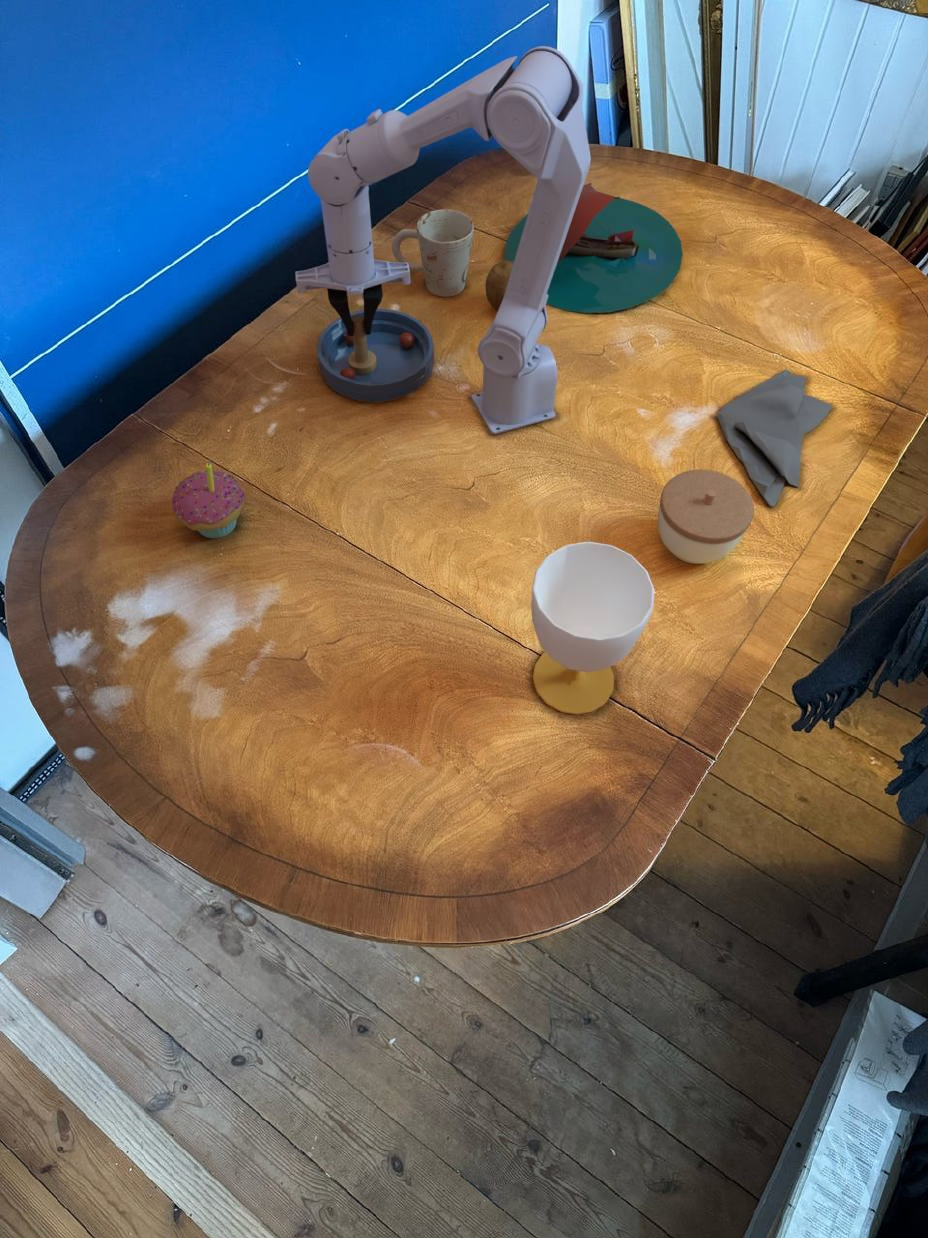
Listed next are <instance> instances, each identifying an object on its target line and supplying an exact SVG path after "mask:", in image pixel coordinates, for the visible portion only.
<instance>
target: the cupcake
mask: <svg viewBox="0 0 928 1238" xmlns="http://www.w3.org/2000/svg"><path fill="white" fill-rule="evenodd" d="M245 497H246V496H245V491H244V489H243V488H242V487H241V486H240V484H239V483H238V481H237V480H236V479H235V478H234V476H231V474H228V473H226V472H225V471H217V470H213V466H212V463H211V460H210V459H209V460H208V461H207V463H206V464H205V470H202V471H196V472H193V473H192V474H191V475H189V476H187V477H186V478H183V479H182V480H181V481H180V482H179V483H178V485H177V486H176V487H175V488H174V490H173V493H172V497H171V512H172V515H174V517H175V518H176V519H177V520H178V522H180V523H181V524H182V525H184V527H187V528H188V529H190V530H191V531H198V533H199V534H201V535H202V536H204V537H205V538H209V539H220V538H223V537H227V535H229V534H230V533H232V532H233V531H234V530H235V528H236V525H237V519H238V518H239V516H240V514H241V512H242V510H243V508H244V505H245Z"/></svg>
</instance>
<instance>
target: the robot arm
mask: <svg viewBox="0 0 928 1238" xmlns="http://www.w3.org/2000/svg"><path fill="white" fill-rule="evenodd" d="M517 59H518V55H516V56H515V55H514V56H512V57H508V58H506V59H504V60H502V61H501V62H498V63H496V64H495V65H493V66H491V67H489V68H487V69H486V70H484V71H481V72H480V73H479V74H477V75H475V76H474V77H472V78H470V79H468V80H467V81H464V83H462V84H459V85H458V86H457V87H455V88H453V89H452V90H450V91H448V92H446V93H445V94H442V95H441V96H439V97H438V98H435V100H433V101H431V102H430V103H428V104H425V105H423V106H422V107H421V108H419V109H417V110H415V111H414V112H412V113H410V114H409V115H407V114H406V113H403V112H402V111H400V110H397V109H391V110H388V111H386V112H384V113H383V112H382V110H381V109H380V108H378V109H376V110H374V111H373V112H371V113H370V114H369V115H368V116H367V118H366V123H364V124H362V125H360V126H358V127H356V128H354V129H353V130H349V129H348V128H345V129H343V130H341V131H340V132H339V133H337V134H335V135H334V136H332V137H331V139H330V140H329V141H328V142H327V143H326V144H325V146H323V148H322V149H320V151H318V153H317V154H316V155H315V156H314V157H313V158H312V160H311V162H310V164H309V166H308V169H307V178H308V181H309V185H310V187H311V189H313V190H312V191H314V193H315V195H316V196H318V197H319V198H320V204H321V205H320V206H321V213H322V220H323V228H324V235H325V243H326V244H325V245H326V251H327V257H328V258H327V260H328V263H325V264H322V265H319V266H316V267H312V268H309V269H305V270H298V271H297V270H296V271H295V273H294V274H295V283H296V289H297V294H306V293H307V291H309V290H322V289H327V290H326V291H327V298H328V299H327V300H328V302H329V304H330V306H331V307H332V308H333V309H334V310H335V312H336V313H337V314H338V317H339V318H340V317H341V319H342V321H343V323H344V325H345V327H346V330H347V333H348V336H353V328H352V323H351V315H350V313H351V311H350V307H349V298H348V296H357V295H358V296H359V295H362V300H363V310H364V319H365V332H366V335H370V334H371V327H372V322H373V318H374V315H375V312H376V310H377V309H379V306H380V304H381V303H382V301H383V297H384V294H383V284H392V283H401V285H403V286H406V285H407V286H408V285H411V270H410V269H409V265H408V262H409V261H408V262H407V263H399V262H395V261H387V260H381V259H379V260H378V259H375V254H374V243H373V241H374V240H373V231H372V220H371V208H370V195H369V189H370V188H369V186H372V185H373V184H375V183H378V182H380V181H382V180H384V179H386V178H388V177H391V176H393V175H395V174H396V173H399V172H401V171H403V170H405V169H408V168H409V167H411V166H413V165H415V163H416V162H417V161H418V158H419V156H420V155H419V154H420V150H421V148H424V147H426V146H429V145H431V144H434V143H436V142H439V141H441V140H443V139H446V138H448V137H451V136H453V135H455V134H457V133H461V132H463V131H464V130H468V129H471V128H472V129H473V130H474V131H475V132H476V133H477V134H478V135H479V136H480V137H481V139H483V140H484V141H486V142H490V140H491V139H492V138H494V140H495V142H496V143H498V145H500V147H502V148H503V149H504V150H505V151H506V152H507V153H508V154H509V155H510V156H511V157H512V158H514V159H515V160H516V161H517V162H518V163H519V164H520V165H521V166H522V167H524V169H526V170H527V171H528V172H529V173H530V174H531V175H532V176H534V177H535V178H536V179H537V182H536V185H535V188H534V192H533V195H532V199H531V202H530V206H529V209H528V212H527V214H528V216H527V219H526V223H525V226H524V230H523V233H522V237H521V240H520V243H519V247H518V250H517V254H516V257H515V261H514V264H513V267H512V271H511V274H510V278H509V281H508V285H507V288H506V292H505V295H504V298H503V301H502V303H501V305H500V308H499V310H498V311H496V315H495V317H494V319H493V321H492V323H491V325H490V327H489V328H488V330H487V331H486V333H485V334H484V336H483V337H482V338H481V339H480V341H479V343H478V346H477V355H478V358H479V361H480V362H481V364H482V365H483V369H482V391H480V392H475V393H473V394H471V401H472V402H473V404H474V406H475V408H476V409H477V411H478V413H479V414H480V416H481V418H482V420H483V421H484V424H485V425H486V426H487V429H488V430H489V431H490V434H492V435H498V434H501V433H504V432H508V431H513V430H517V429H520V428H523V427H527V426H530V425H534V424H538V423H542V422H545V421H549V420H553V419H555V418H556V415H557V414H556V412H555V410H554V409H555V400H556V394H557V385H558V368H557V362H556V359H555V356H554V354H553V351H552V350H551V348H550V347H549V345H546V344H539V343H538V340H539V338H540V336H541V334H542V333H543V332H544V330H545V329H546V327H547V325H548V321H549V318H548V312H547V304H546V302H547V299H548V294H547V291H548V288H549V285H550V282H551V279H552V277H553V274H554V271H555V268H556V265H557V262H558V259H559V256H560V253H561V250H562V247H563V244H564V241H565V238H566V235H567V232H568V230H569V227H570V224H571V221H572V218H573V215H574V212H575V209H576V206H577V203H578V200H579V197H580V194H581V191H582V188H583V185H585V182H586V179H587V177H588V174H589V170H590V167H591V162H592V161H591V160H592V157H591V151H590V145H589V138H588V133H587V128H586V123H585V122H586V121H585V116H584V112H583V95H584V94H583V93H584V84H583V82H582V80H581V79H580V77H579V76H578V74H577V72H576V71H575V69H574V67H573V65H572V63H571V62H570V61H569V59H568V58H567V57H566V56H565V54H563V53H562V52H561V51H560V50H559V49H556V48H554V47H552V46H547V45H541V46H540V45H539V46H535V47H532V48H531V49H529V50H527V51H526V52H525V53H524V54H523V56H522V57H520V59H519V61H518V63H517V66H516V67H514V64H515V62H516V60H517Z"/></svg>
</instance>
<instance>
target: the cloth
mask: <svg viewBox="0 0 928 1238" xmlns="http://www.w3.org/2000/svg"><path fill="white" fill-rule="evenodd" d="M806 381H807V378H806V377H805V376H801V375H797V374H792V373H791V372H790V371H789V370H788V369H787V368H785V369H784V370H781V371H780V372H778V373H777V374H775V375H773V376H772V377H770V378H769V379H766V380H764V381H761V382H760V383H759V384H757V385H755V386H753V387H752V388H750V389H748V390H746V391H744V392H743V393H741V394H739V395H738V396H736V398H734V399H733V400H731V401H729V402H727V403H725V404H724V405H723V406H722V407H721V408H720V410H719V412H718V414H717V415H716V418H717V420H718V423H719V425H720V427H721V430H722V433H723V436H724V438H725V440H726V442H727V443H728V444H729V446H730V447H731V449H732V450H733V452H734V454H735V455H736V457H737V458H738V460H739V462H741V463H742V464H743V466H744V467H745V470H746V472H747V474H748V477H749V479H750V480H751V481H752V483H753V484H754V485H755V487H756V489H757V490H758V492H759V494H760V495H761V496H762V497H763V499H764V500H765V502H766V503H767V505H768V506H769V508H775V507H776V504H777V503H778V501H779V499H780V497H781V494H782V491H783V489H784V486H785V483H786V482H787V483H788V484H789V485H791V486H793V487H795V488H797V489H798V488H799V486H800V475H801V473H800V472H801V460H802V459H801V458H802V449H803V441H802V440H803V439H804V437H805V435H806V434H808V433H810V432H811V431H813V430H814V429H815V428H816V427H818V425H820V424H821V423H822V421H824V419H825V418H826V417H827V415H828V414H829V413H830V411H831V410H832V408H833V406H832V405H831V404H830V403H827V402H825V401H823V400H821V399H819V398H817V397H814V396H812V395H807V394H805V387H806V383H807V382H806Z"/></svg>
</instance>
